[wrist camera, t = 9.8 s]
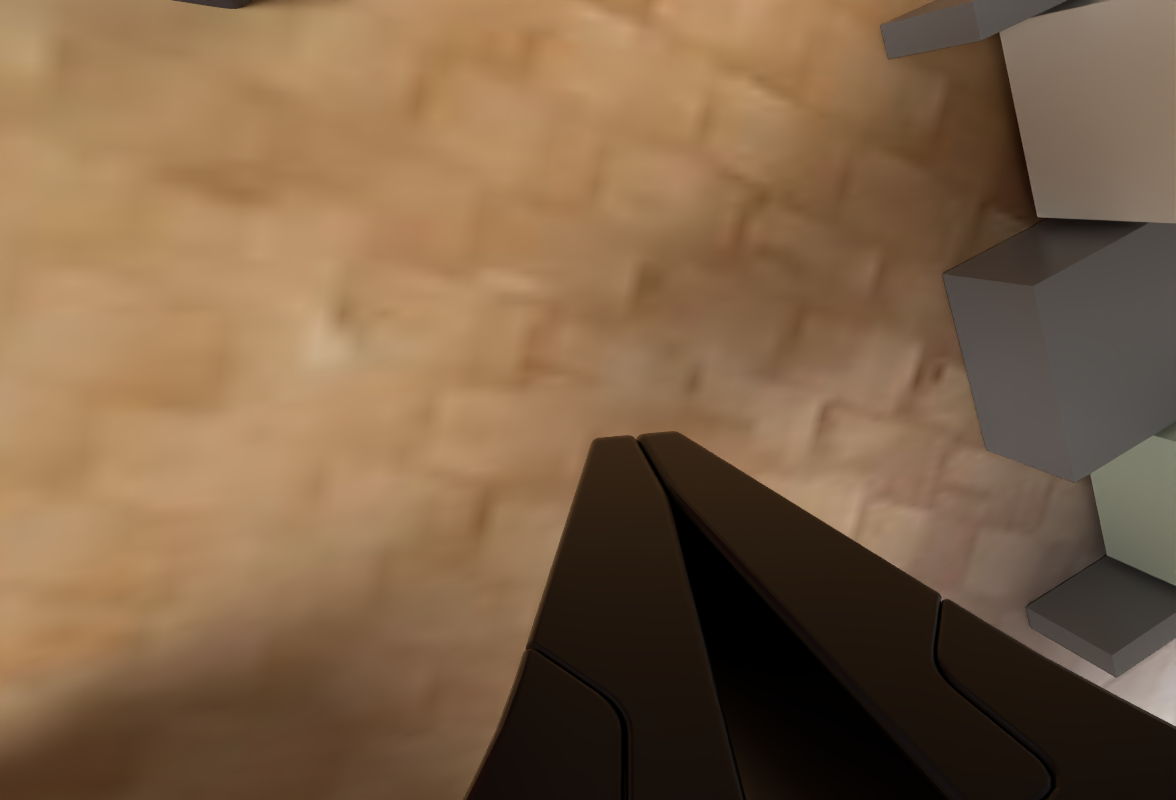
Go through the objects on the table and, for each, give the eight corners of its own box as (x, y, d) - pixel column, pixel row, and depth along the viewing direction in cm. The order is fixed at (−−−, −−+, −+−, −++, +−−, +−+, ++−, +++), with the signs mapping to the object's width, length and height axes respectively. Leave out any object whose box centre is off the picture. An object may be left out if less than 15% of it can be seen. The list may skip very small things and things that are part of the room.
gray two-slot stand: (1030, 627, 27) (1116, 677, 24) (880, 25, 21) (972, 1, 18) (1235, 495, 29) (1336, 528, 26) (1151, -97, 23) (1273, -136, 20)
